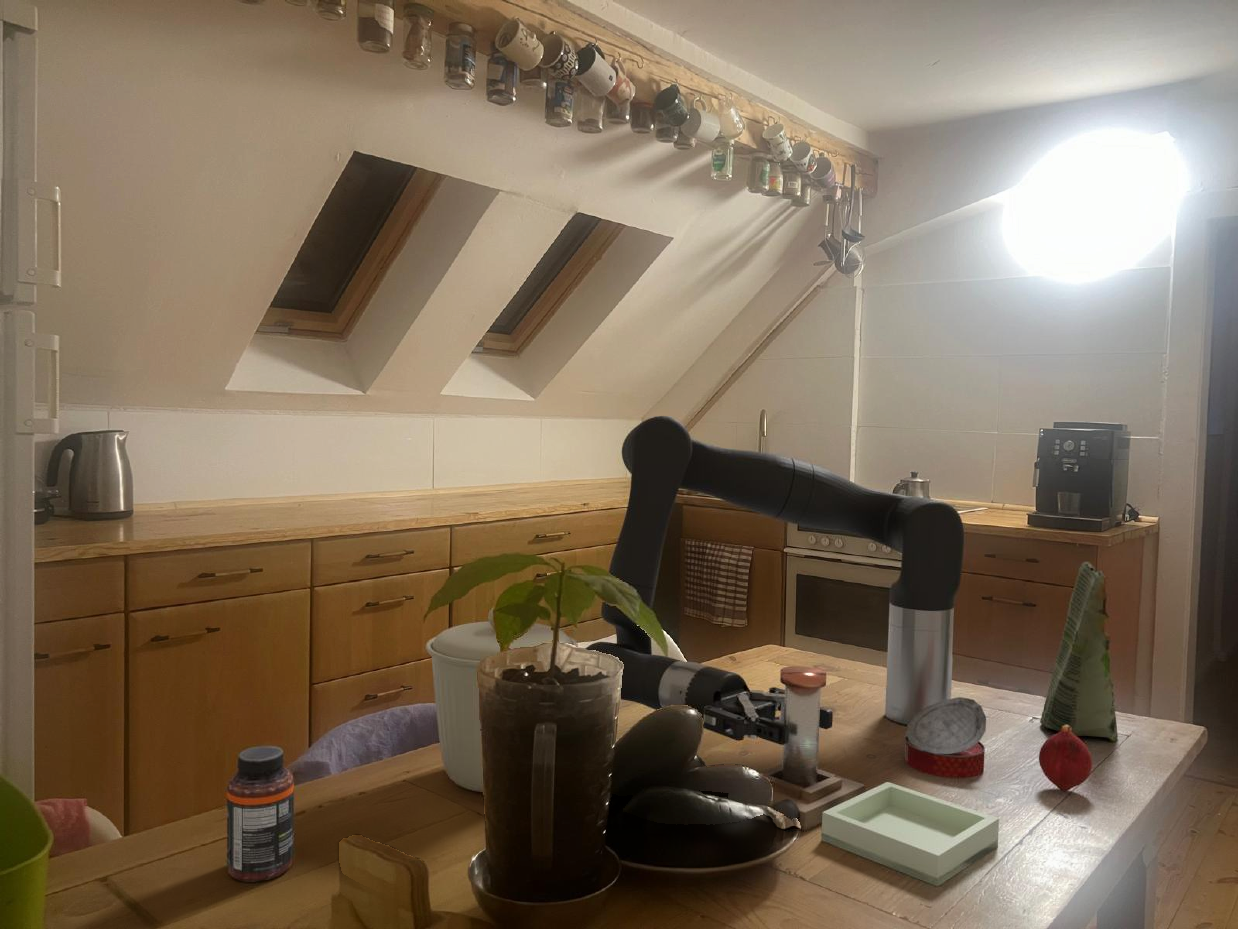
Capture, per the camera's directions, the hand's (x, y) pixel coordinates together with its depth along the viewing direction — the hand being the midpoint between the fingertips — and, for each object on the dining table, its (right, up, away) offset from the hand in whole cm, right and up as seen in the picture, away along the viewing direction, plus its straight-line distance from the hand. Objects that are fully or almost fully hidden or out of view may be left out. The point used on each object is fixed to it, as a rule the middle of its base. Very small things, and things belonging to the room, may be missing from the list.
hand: (809, 727), depth 107 cm
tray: (+9, -10, -9) cm, 16 cm away
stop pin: (-1, -7, +1) cm, 7 cm away
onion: (+32, -10, +7) cm, 34 cm away
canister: (-36, -8, +6) cm, 38 cm away
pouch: (+46, -9, +29) cm, 55 cm away
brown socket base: (-1, -9, +1) cm, 9 cm away
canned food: (+20, -9, +15) cm, 27 cm away
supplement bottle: (-56, -9, -18) cm, 59 cm away
